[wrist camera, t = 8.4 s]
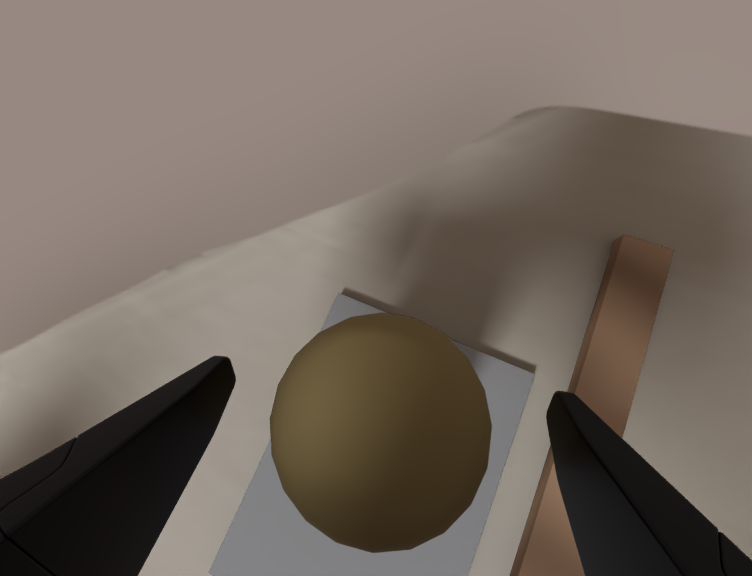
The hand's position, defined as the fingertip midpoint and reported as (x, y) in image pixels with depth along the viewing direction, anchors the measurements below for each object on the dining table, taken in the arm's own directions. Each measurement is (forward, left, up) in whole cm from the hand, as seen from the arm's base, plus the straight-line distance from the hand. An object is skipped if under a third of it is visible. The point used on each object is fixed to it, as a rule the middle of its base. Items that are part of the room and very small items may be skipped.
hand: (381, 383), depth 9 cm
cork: (-1, 0, -9) cm, 9 cm away
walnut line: (+1, -9, -9) cm, 13 cm away
